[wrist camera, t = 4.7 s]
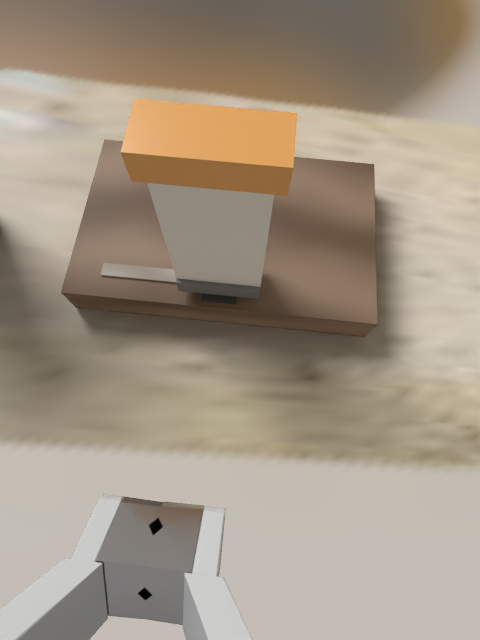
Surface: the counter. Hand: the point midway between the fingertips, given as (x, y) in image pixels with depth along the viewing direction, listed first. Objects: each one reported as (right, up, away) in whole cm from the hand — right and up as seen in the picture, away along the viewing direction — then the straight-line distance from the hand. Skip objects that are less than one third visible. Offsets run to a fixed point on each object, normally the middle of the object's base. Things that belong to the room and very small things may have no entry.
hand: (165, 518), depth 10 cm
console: (+1, +9, +14) cm, 17 cm away
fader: (+1, +7, +10) cm, 12 cm away
